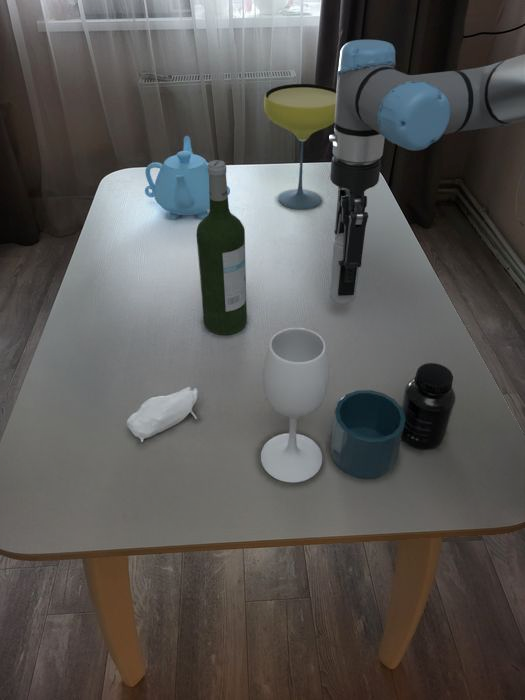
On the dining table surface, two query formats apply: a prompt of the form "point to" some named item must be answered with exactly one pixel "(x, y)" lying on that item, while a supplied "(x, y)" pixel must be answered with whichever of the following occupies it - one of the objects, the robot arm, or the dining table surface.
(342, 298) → the beverage can
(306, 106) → the cocktail glass
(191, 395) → the white oblong lump
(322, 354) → the wineglass
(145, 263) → the dining table surface
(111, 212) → the dining table surface
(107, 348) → the dining table surface
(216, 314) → the wine bottle
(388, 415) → the cup
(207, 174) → the teapot
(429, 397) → the supplement bottle
